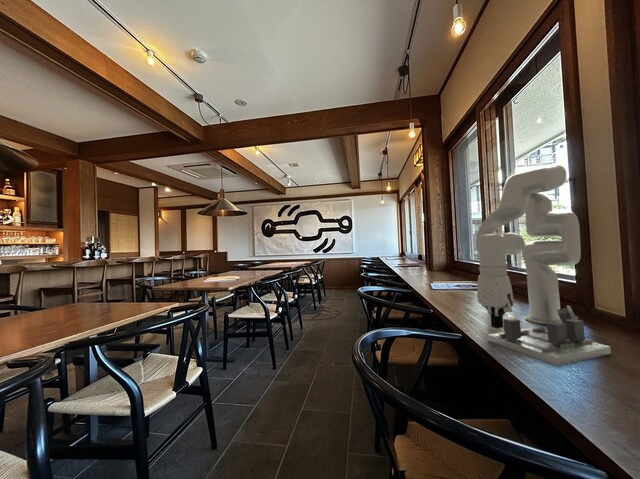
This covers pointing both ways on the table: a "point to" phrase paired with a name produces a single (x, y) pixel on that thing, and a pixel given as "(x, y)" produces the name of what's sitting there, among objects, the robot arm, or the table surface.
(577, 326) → the handle near
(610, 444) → the table surface
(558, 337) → the handle middle
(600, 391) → the table surface
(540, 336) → the panel
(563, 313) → the electrical switch
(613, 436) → the table surface
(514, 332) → the orange striped slider handle
